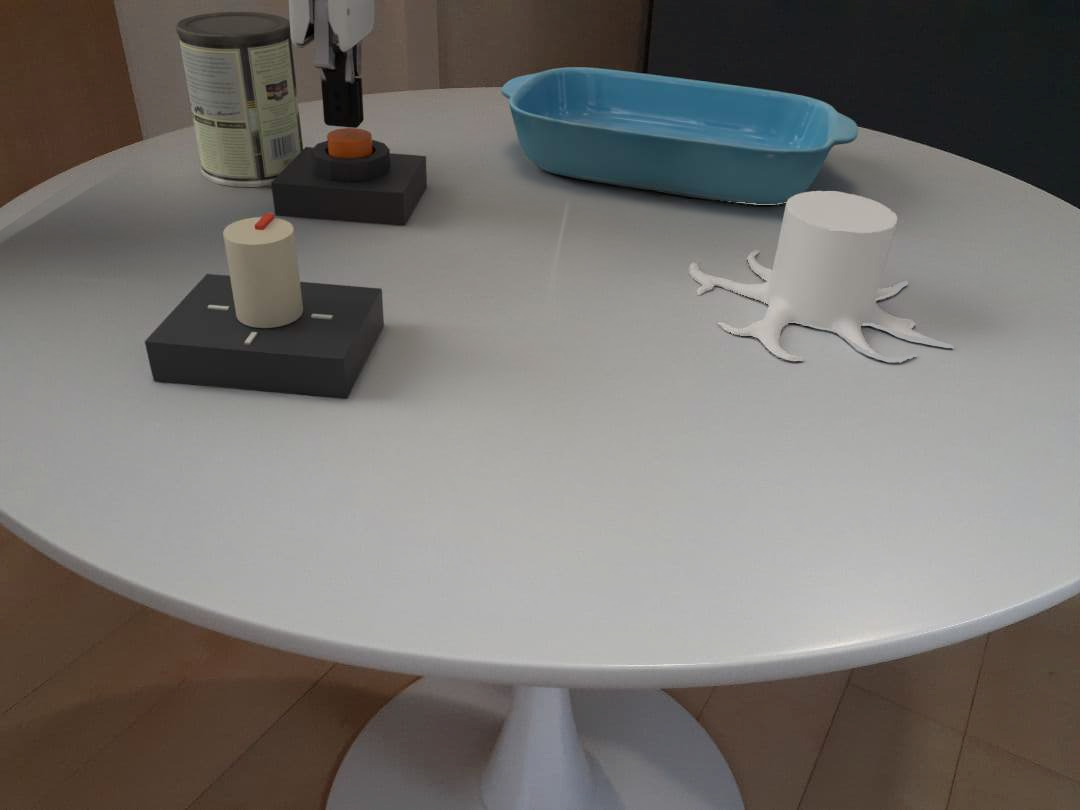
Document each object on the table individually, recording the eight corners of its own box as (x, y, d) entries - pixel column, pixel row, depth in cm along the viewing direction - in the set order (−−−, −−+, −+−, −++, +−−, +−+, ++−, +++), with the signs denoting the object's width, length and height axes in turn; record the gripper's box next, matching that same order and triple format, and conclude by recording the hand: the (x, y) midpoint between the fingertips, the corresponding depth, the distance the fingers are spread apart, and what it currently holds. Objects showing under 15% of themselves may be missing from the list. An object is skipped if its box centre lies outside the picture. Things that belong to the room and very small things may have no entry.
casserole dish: (844, 157, 104) (859, 93, 100) (842, 231, 86) (860, 157, 82) (532, 118, 112) (535, 56, 108) (471, 178, 94) (471, 107, 90)
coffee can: (226, 149, 98) (205, 7, 90) (320, 158, 97) (307, 15, 89) (181, 183, 90) (154, 29, 82) (283, 192, 88) (265, 38, 81)
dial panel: (153, 380, 61) (143, 339, 59) (213, 309, 69) (206, 271, 67) (347, 398, 60) (343, 356, 58) (384, 324, 68) (381, 286, 66)
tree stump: (920, 267, 80) (947, 178, 76) (968, 384, 64) (1005, 279, 60) (691, 242, 83) (704, 154, 78) (682, 349, 67) (697, 246, 62)
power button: (323, 159, 83) (321, 140, 82) (335, 145, 87) (334, 126, 86) (366, 162, 83) (365, 143, 82) (377, 148, 87) (376, 129, 86)
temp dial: (290, 331, 61) (279, 242, 57) (226, 325, 61) (210, 236, 57) (311, 300, 64) (302, 215, 61) (250, 295, 65) (238, 210, 61)
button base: (274, 216, 84) (268, 162, 81) (308, 178, 92) (303, 128, 89) (404, 226, 83) (402, 173, 80) (427, 187, 91) (425, 137, 89)
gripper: (312, -117, 80) (327, 98, 90) (250, -102, 67) (275, 146, 77) (398, -111, 79) (403, 104, 89) (351, -94, 67) (363, 154, 77)
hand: (344, 123), depth 83 cm, fingers closed
